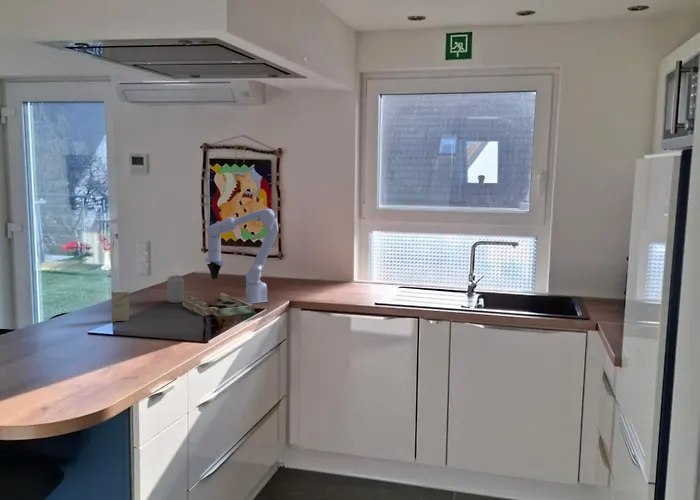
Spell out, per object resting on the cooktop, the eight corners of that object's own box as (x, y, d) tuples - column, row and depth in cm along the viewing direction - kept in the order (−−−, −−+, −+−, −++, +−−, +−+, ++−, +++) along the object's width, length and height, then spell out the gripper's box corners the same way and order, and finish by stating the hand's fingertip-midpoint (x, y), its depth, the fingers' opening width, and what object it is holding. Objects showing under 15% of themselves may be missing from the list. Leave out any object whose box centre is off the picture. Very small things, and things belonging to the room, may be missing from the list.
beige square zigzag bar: (222, 299, 298) (222, 292, 297) (254, 312, 273) (254, 305, 273) (178, 303, 285) (178, 297, 284) (207, 318, 260) (207, 311, 260)
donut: (209, 312, 270) (209, 303, 270) (224, 307, 281) (224, 298, 281) (233, 316, 266) (233, 306, 266) (247, 310, 277) (247, 301, 277)
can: (179, 304, 285) (179, 277, 283) (164, 302, 286) (163, 276, 285) (186, 300, 292) (186, 275, 290) (171, 299, 293) (171, 274, 292)
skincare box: (112, 322, 248) (112, 292, 247) (111, 320, 252) (110, 290, 251) (129, 321, 251) (129, 291, 250) (127, 318, 255) (127, 289, 253)
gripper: (199, 248, 294) (199, 277, 296) (213, 252, 283) (213, 282, 285) (213, 247, 299) (213, 275, 300) (227, 251, 287) (227, 280, 289)
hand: (214, 278), depth 293 cm, fingers closed
